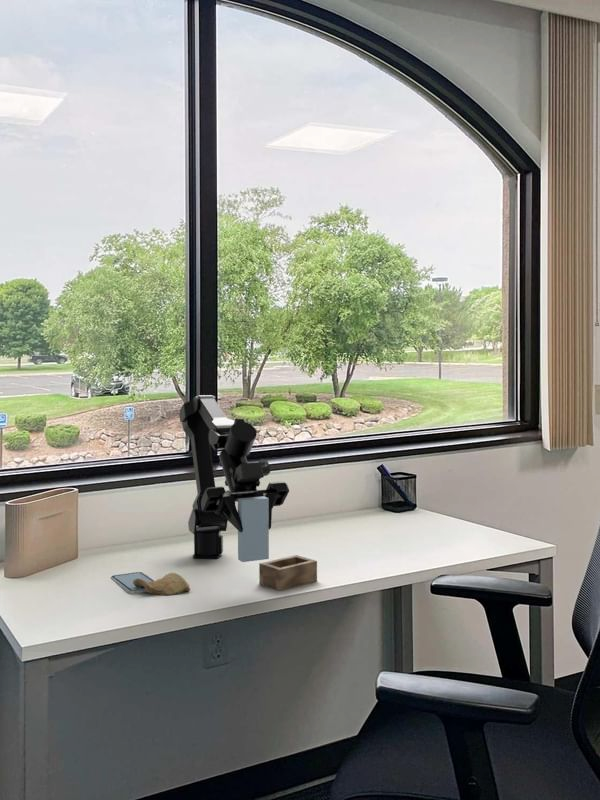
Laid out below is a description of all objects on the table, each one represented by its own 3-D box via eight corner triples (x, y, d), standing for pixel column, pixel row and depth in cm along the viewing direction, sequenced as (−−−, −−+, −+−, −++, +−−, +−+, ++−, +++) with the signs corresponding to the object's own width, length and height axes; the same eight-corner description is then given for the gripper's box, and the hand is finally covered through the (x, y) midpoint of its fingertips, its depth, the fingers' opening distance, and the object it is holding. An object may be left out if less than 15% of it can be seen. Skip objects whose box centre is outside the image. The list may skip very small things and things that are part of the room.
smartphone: (141, 571, 182) (163, 586, 169) (141, 575, 182) (163, 590, 169) (109, 575, 178) (129, 591, 165) (109, 580, 178) (129, 596, 165)
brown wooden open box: (279, 590, 167) (279, 569, 167) (259, 583, 172) (259, 563, 172) (316, 580, 174) (316, 560, 174) (296, 574, 180) (296, 555, 179)
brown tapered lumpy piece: (168, 587, 176) (128, 584, 169) (173, 568, 176) (133, 564, 170) (192, 602, 167) (150, 599, 161) (197, 581, 167) (155, 578, 161)
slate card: (242, 562, 164) (242, 500, 163) (238, 559, 166) (237, 498, 166) (268, 558, 167) (268, 498, 166) (264, 556, 169) (264, 496, 168)
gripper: (204, 449, 165) (222, 511, 155) (285, 445, 173) (307, 503, 163) (193, 481, 172) (210, 542, 163) (271, 475, 180) (291, 533, 171)
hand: (255, 529), depth 165 cm, fingers closed on slate card, 6 cm apart
